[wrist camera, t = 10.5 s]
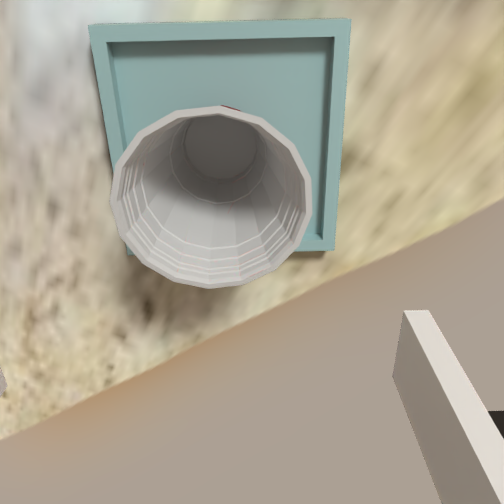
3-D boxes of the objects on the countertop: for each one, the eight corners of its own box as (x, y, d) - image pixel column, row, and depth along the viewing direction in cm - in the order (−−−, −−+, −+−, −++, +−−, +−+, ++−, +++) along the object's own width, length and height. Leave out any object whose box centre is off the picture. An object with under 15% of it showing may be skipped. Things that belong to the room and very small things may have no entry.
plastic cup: (216, 236, 38) (205, 326, 28) (120, 137, 34) (65, 198, 24) (323, 156, 35) (355, 223, 25) (231, 35, 31) (222, 54, 21)
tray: (132, 245, 39) (127, 255, 38) (95, 24, 31) (87, 25, 30) (330, 240, 39) (334, 250, 38) (346, 18, 31) (351, 19, 30)
